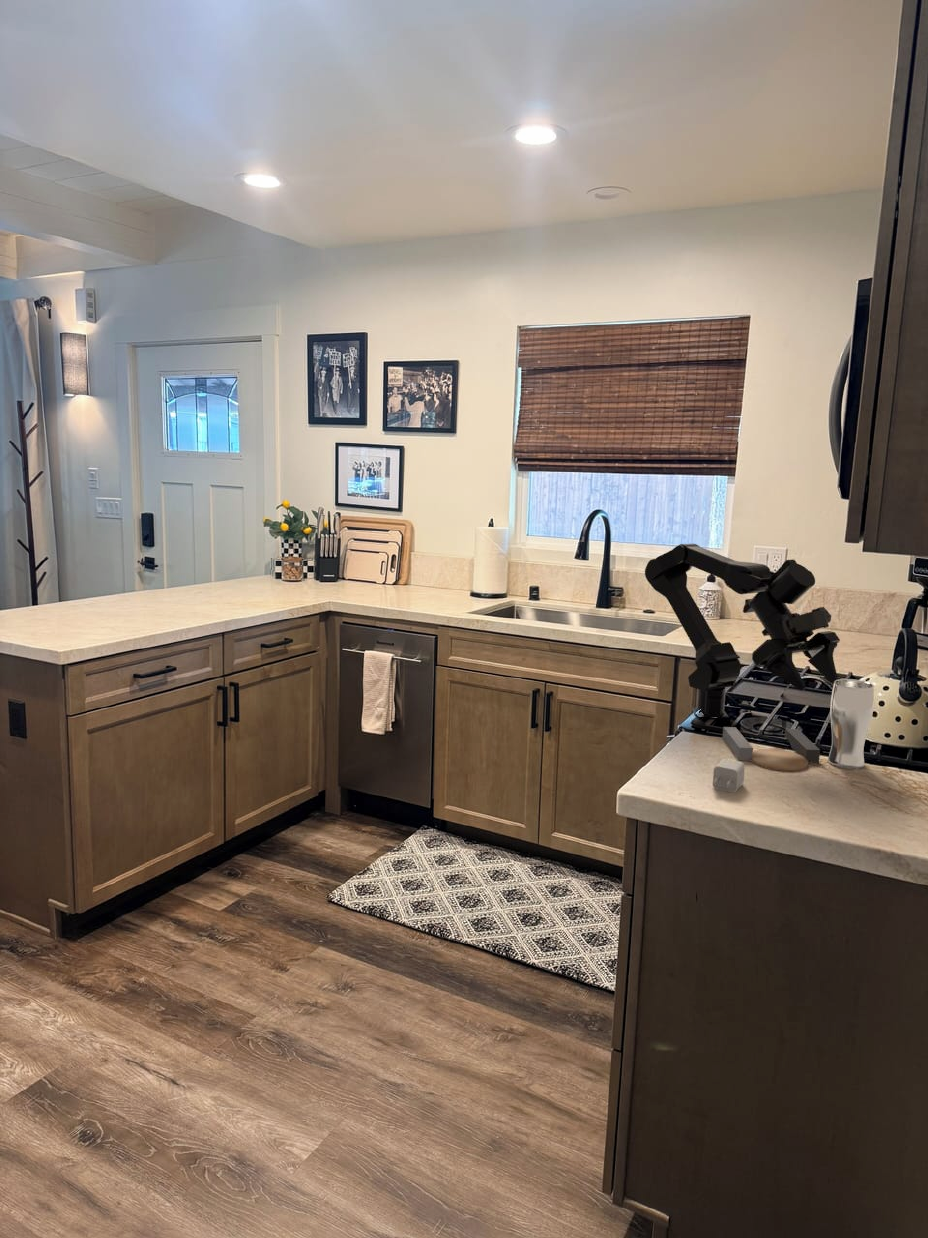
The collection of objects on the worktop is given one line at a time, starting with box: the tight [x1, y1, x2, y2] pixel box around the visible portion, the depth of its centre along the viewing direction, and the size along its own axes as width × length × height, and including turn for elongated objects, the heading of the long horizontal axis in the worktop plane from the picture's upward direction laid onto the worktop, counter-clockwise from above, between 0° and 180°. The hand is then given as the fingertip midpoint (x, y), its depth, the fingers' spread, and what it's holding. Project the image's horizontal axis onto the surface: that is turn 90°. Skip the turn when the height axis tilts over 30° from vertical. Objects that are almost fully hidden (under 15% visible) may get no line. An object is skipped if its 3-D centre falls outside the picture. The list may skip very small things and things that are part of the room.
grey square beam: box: [721, 726, 754, 762], centre depth 158 cm, size 12×2×2 cm, turn 177°
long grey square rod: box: [784, 728, 821, 763], centre depth 157 cm, size 12×2×2 cm, turn 177°
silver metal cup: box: [827, 678, 875, 770], centre depth 150 cm, size 7×7×15 cm
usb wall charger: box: [712, 758, 746, 793], centre depth 139 cm, size 4×7×4 cm, turn 148°
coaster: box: [751, 748, 809, 772], centre depth 152 cm, size 10×10×1 cm
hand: (820, 686), depth 155 cm, fingers open, 9 cm apart
